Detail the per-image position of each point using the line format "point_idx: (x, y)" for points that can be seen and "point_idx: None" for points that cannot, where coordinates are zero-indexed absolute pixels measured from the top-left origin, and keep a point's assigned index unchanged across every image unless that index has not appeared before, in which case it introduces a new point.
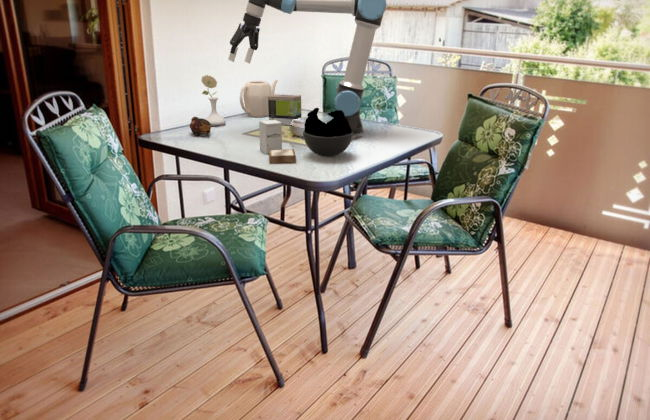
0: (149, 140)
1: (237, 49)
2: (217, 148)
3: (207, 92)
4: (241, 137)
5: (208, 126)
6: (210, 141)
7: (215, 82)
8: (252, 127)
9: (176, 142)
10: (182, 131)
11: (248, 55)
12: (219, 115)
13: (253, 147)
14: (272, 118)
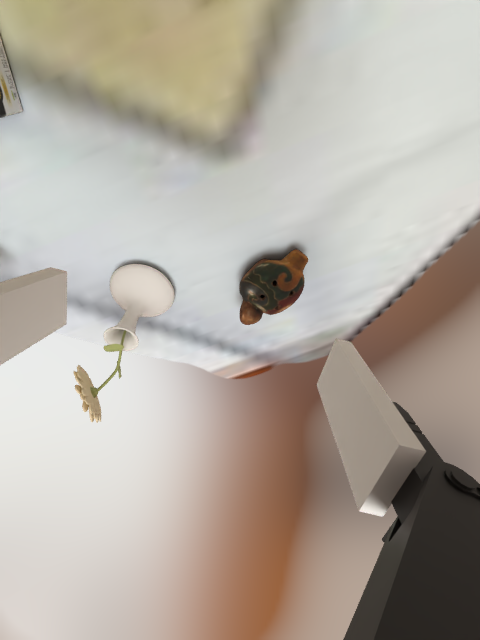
0: None
1: (389, 424)
2: (445, 165)
3: (119, 366)
4: (285, 142)
5: (287, 263)
6: (348, 222)
7: (81, 377)
8: (118, 162)
9: (358, 293)
10: None
11: (12, 330)
12: (132, 290)
13: (459, 12)
14: (2, 91)
